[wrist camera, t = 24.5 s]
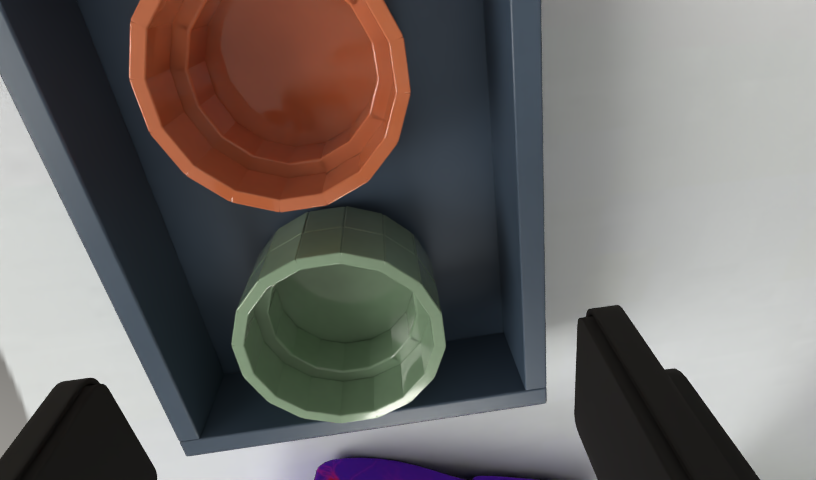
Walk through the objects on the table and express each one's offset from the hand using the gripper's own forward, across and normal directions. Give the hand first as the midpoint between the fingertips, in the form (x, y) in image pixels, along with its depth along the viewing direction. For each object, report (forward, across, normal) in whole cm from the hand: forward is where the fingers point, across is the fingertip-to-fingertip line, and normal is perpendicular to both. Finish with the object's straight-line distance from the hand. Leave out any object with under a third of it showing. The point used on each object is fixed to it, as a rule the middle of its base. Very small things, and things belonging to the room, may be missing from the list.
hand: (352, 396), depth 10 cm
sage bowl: (+9, +1, +3) cm, 10 cm away
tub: (+10, +1, -1) cm, 10 cm away
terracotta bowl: (+10, +1, -5) cm, 11 cm away
